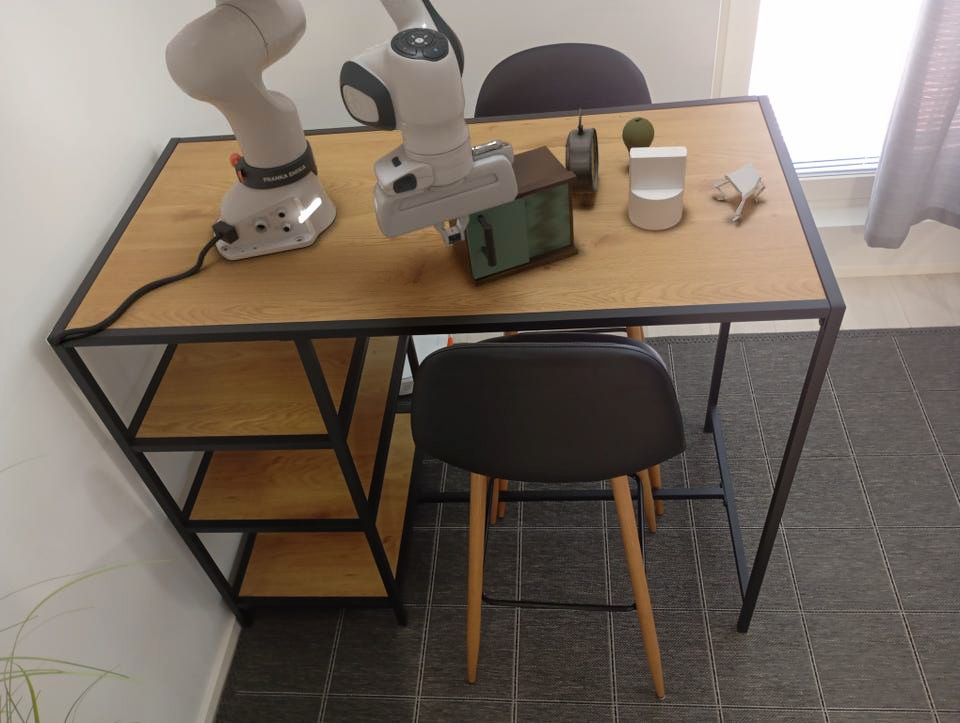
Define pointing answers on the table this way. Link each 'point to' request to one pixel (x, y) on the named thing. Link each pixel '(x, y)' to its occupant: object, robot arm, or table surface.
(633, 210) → the base with upright slab
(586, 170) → the alarm clock
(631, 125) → the olive green rounded piece
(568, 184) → the brown wooden cabinet
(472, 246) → the green sliding door
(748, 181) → the white flat-topped legged piece
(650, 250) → the table surface
